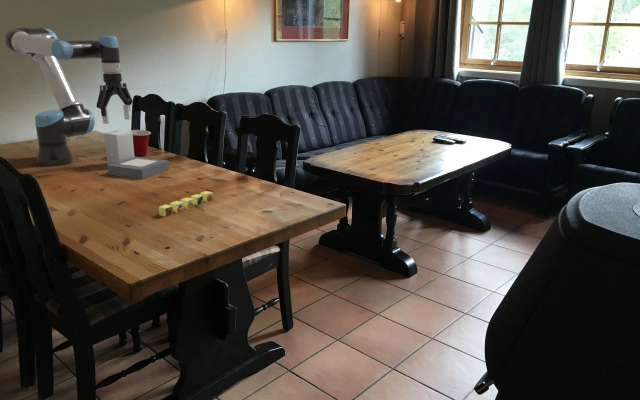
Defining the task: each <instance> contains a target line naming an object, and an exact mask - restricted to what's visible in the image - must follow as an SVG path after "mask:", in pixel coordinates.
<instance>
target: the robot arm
mask: <svg viewBox="0 0 640 400" xmlns="http://www.w3.org/2000/svg"><path fill="white" fill-rule="evenodd" d="M3 38H4V45H5V46H6V48H7V49H8V50H9V51H11V52H12V53H15V54H18V55H19V54H20V55H30V56H31V58H32V60H33V61H35V62H36V63H38V65H39V67H40V70H41V71H42V73H43V76H44V77H45V80H46V82H47V84H48V86H49V89H50V90H51V93H52V95H53V97H54V99H55V102H56V103H57V105H58V109H51V110H45V111H42V112H38V113H37V114H36V115H35V117H34V121H35V123H34V124H35V125H34V126H35V130H36V134H37V135H36V136H37V141H38V142H37V143H38V151H37V157H36V164H37V165H39V166H42V167H43V166H44V167H45V166H46V167H53V166H55V167H56V166H63V165H68V164H71V163H73V162H74V157H73V154H72V152H71V151H70V148H69V146H68V142H67V141H68V140H67V139H68V138H71V137H76V136H77V137H79V136H84V135H88V134H90V133H92V132H93V130H94V129H95V123H96V119H95V115H94V113H93V112H92V111H91V110H90V109H88V108H85V107H84V105H83V103H82V102H79V101H78V99H77V98H76V95H75V93H74V91H73V89H72V87H71V85H70V82H69V81H68V78H67V76H66V73H65V72H64V70H63V67H62V65H61V63H60V61H59V60H62V61H63V60H66V61H67V60H78V59H100V60H101V68H102V69H101V71H102V73H103V74H102V79H103V82H104V83H105V84H104V85H102V84H100V85H99V92H98V93H99V94H98V98H97V102H96V108H97V109H100V113H101V114H100V115H101V117H102V118H101V119H102V123H103V124H104V125H110V119H109V110H108V108H107V106H108V104H109V103H110V100H111V97H113V96H115V95H117V96H118V97H119V99H120V100H121V102H122V103H123V105H122V106H123V107H122V108H123V118H124V120H129V121H130V120H131V107H130V106H132V104H133V102H134V100H133V99H132V96H131V95H130V92H129V89H128V87H127V83H125V82H122V81H123V78H122V73H121V72H122V71H121V70H122V68H121V61H120V60H121V59H120V46H119V41H118V38H117V36H115V35H100V36H99V37H98V40H92V39H86V40H68V39H59V38H58V36H57V35H56V33H55V32H54V31H53V30H51V29H49V28H47V27H46V28H44V27H13V28H10V29H9V30H8V31H7V32H6V33H5V34H4V37H3Z"/></svg>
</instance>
